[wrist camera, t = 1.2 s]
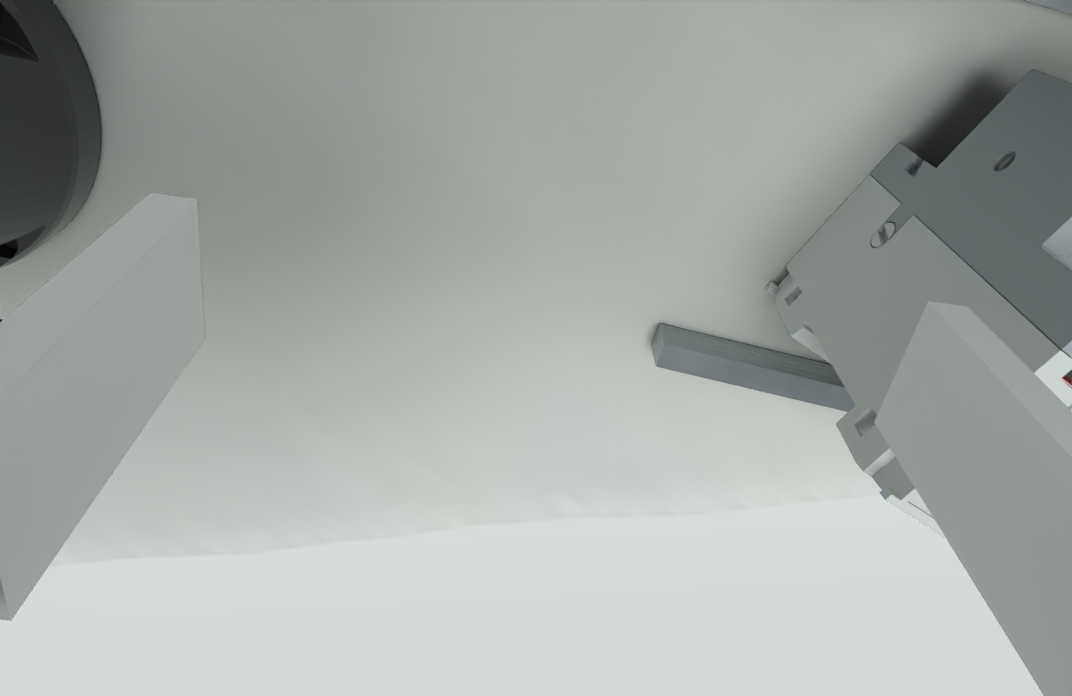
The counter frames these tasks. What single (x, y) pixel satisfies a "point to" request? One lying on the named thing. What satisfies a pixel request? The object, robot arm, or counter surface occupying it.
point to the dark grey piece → (762, 352)
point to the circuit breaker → (944, 263)
